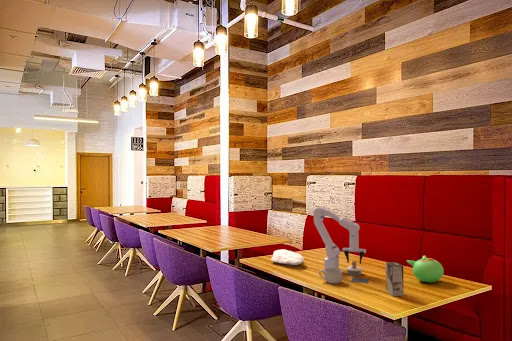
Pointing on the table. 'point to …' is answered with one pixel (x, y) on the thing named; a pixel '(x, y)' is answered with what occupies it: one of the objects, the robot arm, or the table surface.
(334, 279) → the teacup
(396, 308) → the table surface
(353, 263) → the lid
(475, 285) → the table surface
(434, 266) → the green teapot
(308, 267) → the table surface
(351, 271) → the bowl
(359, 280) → the mat
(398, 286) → the coffee box
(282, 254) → the crumpled cloth
